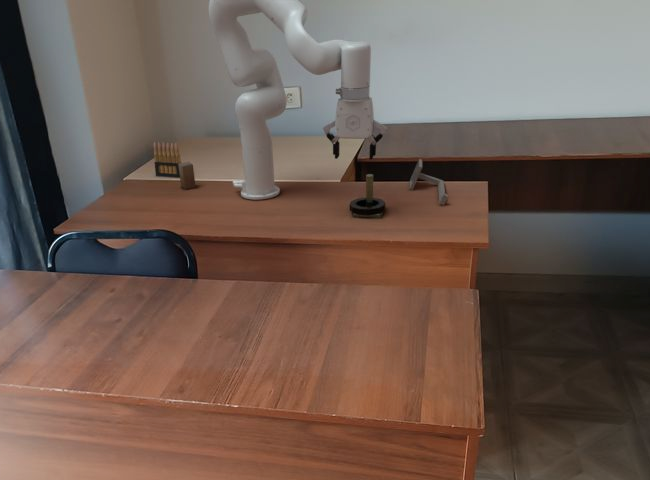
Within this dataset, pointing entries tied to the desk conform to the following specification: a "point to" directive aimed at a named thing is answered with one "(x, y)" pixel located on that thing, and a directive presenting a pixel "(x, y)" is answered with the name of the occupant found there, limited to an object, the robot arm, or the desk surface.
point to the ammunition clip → (167, 160)
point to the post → (369, 197)
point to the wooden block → (186, 175)
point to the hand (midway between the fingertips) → (354, 157)
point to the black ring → (375, 209)
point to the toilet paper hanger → (422, 176)
